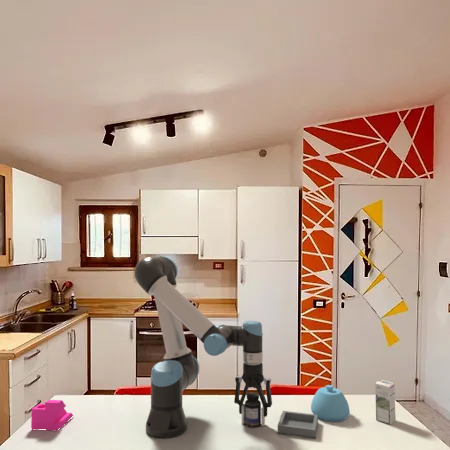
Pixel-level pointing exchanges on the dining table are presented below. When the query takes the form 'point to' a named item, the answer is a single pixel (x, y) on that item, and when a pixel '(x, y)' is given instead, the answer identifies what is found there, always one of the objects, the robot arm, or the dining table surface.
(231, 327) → the robot arm
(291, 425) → the bin
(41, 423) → the bracket
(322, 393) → the sugar bowl
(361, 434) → the dining table surface
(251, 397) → the pill bottle
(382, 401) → the syrup box
